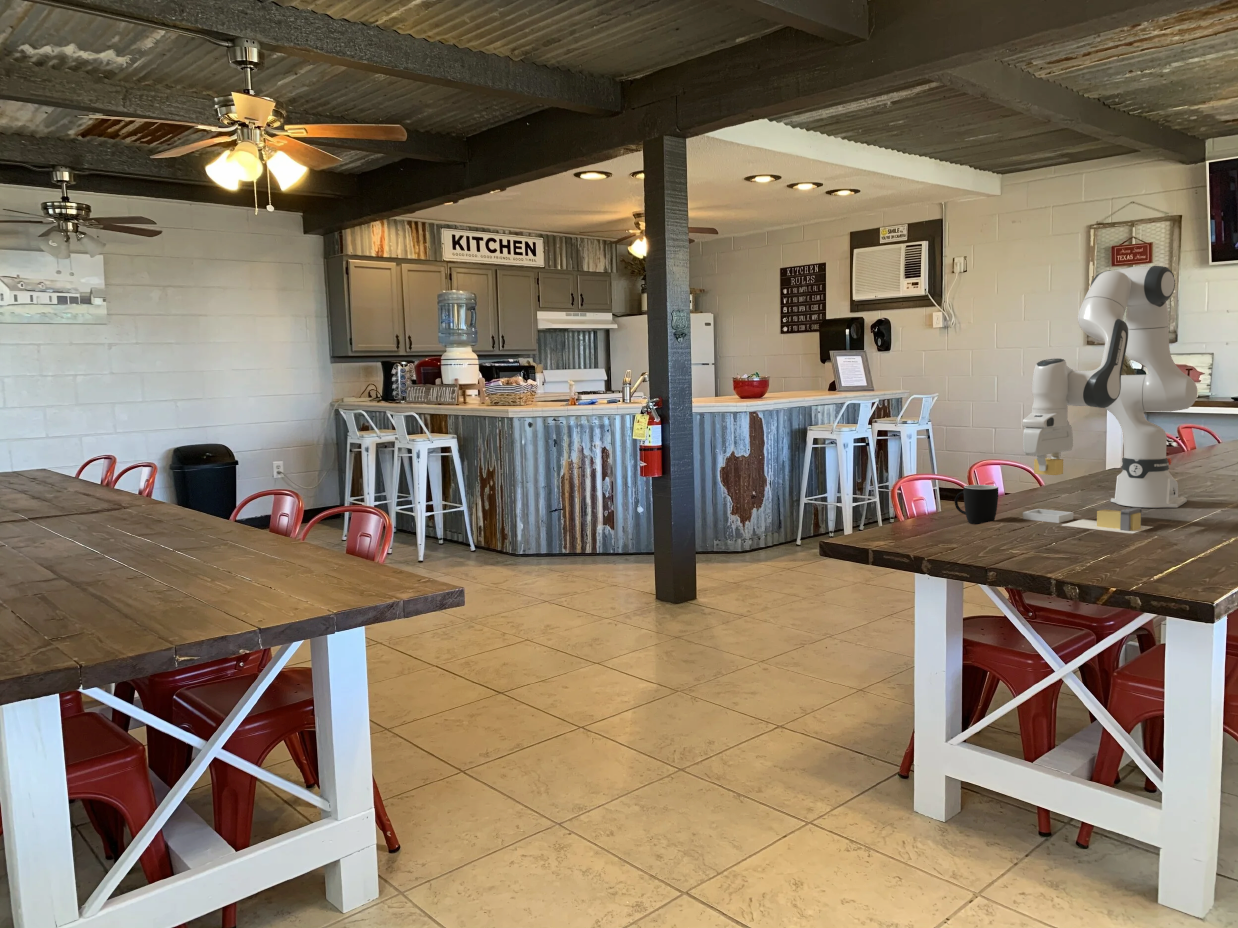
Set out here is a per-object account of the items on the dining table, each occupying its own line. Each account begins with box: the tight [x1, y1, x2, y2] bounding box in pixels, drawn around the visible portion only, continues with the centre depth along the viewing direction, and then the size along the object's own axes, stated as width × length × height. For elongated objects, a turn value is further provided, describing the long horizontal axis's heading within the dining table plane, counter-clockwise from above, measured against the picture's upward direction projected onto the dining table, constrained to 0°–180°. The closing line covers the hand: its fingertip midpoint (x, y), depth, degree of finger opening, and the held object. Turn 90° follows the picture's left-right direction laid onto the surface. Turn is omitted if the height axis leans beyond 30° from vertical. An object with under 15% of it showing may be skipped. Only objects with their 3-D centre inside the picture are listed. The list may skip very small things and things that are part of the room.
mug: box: [954, 484, 999, 525], centre depth 256 cm, size 12×9×10 cm
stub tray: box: [1022, 508, 1074, 524], centre depth 251 cm, size 8×10×3 cm
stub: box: [1033, 457, 1064, 476], centre depth 249 cm, size 4×6×4 cm, turn 38°
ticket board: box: [1061, 506, 1154, 534], centre depth 237 cm, size 12×18×6 cm, turn 38°
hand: (1048, 469), depth 249 cm, fingers closed on stub, 4 cm apart
